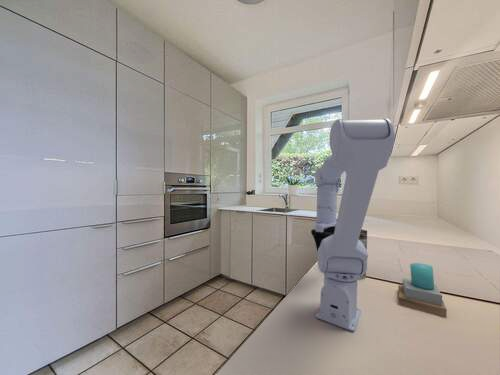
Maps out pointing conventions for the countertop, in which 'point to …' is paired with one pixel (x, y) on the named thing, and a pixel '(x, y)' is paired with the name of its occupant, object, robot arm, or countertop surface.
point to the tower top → (422, 293)
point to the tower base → (421, 304)
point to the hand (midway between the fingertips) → (325, 251)
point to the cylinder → (422, 276)
